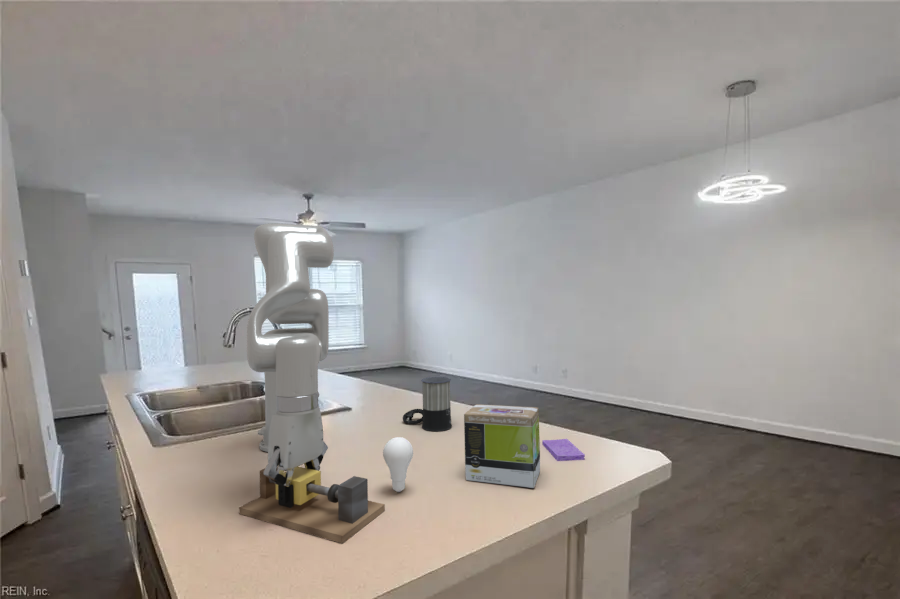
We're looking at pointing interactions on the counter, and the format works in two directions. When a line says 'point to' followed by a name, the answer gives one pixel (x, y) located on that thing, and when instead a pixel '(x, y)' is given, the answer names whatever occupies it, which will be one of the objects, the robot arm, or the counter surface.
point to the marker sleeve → (303, 484)
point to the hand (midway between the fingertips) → (298, 497)
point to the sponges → (563, 450)
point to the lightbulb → (398, 460)
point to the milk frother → (433, 405)
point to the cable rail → (318, 509)
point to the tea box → (502, 445)
